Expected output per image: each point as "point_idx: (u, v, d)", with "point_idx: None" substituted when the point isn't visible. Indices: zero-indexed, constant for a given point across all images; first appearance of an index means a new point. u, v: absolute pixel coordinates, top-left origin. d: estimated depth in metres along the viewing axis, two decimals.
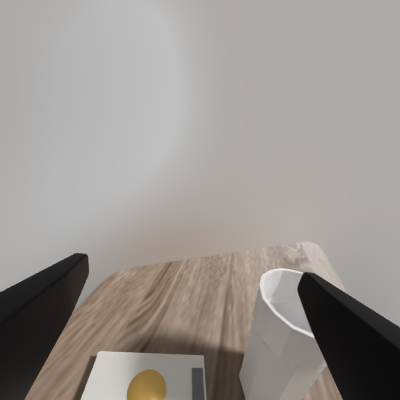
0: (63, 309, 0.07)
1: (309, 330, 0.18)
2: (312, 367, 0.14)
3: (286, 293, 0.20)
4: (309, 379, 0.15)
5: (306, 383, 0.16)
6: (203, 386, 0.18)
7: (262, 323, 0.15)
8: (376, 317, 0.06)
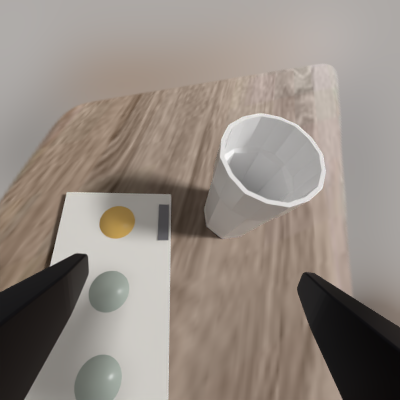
0: (63, 309, 0.07)
1: (275, 180, 0.17)
2: (261, 219, 0.14)
3: (260, 143, 0.16)
4: (259, 222, 0.16)
5: (256, 224, 0.17)
6: (169, 217, 0.21)
7: (218, 181, 0.14)
8: (376, 317, 0.06)
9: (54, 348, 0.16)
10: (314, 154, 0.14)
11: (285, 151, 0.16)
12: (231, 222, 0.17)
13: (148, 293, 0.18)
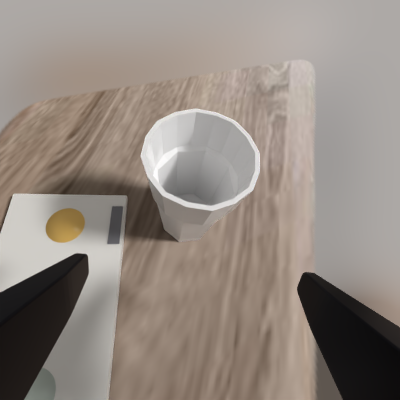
0: (63, 309, 0.07)
1: (225, 180, 0.16)
2: (196, 223, 0.13)
3: (205, 141, 0.15)
4: (204, 225, 0.15)
5: (202, 227, 0.16)
6: (122, 220, 0.20)
7: (148, 182, 0.13)
8: (376, 317, 0.06)
9: None
10: (251, 152, 0.13)
11: (229, 149, 0.15)
12: (176, 225, 0.16)
13: (92, 301, 0.17)
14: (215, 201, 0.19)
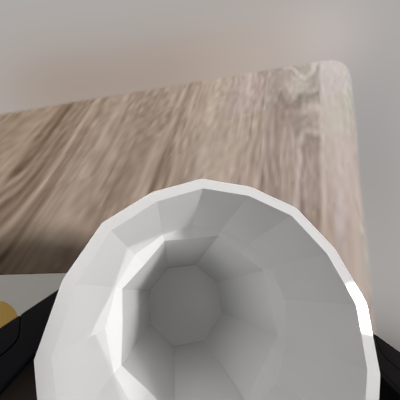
0: None
1: (254, 285, 0.09)
2: None
3: (218, 224, 0.08)
4: None
5: None
6: None
7: None
8: None
9: None
10: (341, 296, 0.05)
11: (269, 248, 0.07)
12: None
13: None
14: (232, 296, 0.11)
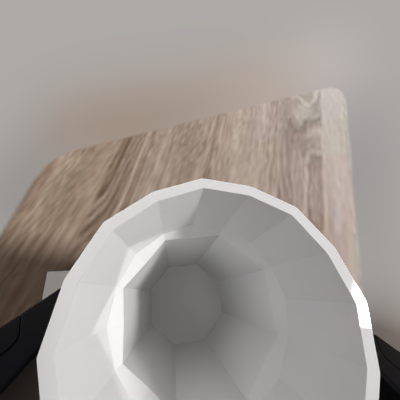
0: None
1: (254, 285, 0.09)
2: None
3: (219, 223, 0.08)
4: None
5: None
6: None
7: None
8: None
9: None
10: (341, 295, 0.05)
11: (270, 247, 0.07)
12: None
13: None
14: (232, 295, 0.11)
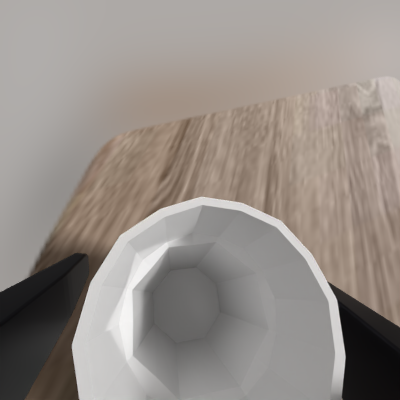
0: (63, 309, 0.07)
1: (248, 286, 0.10)
2: None
3: (216, 232, 0.09)
4: None
5: None
6: None
7: None
8: (376, 317, 0.06)
9: None
10: (317, 294, 0.06)
11: (260, 253, 0.08)
12: None
13: None
14: (229, 296, 0.12)
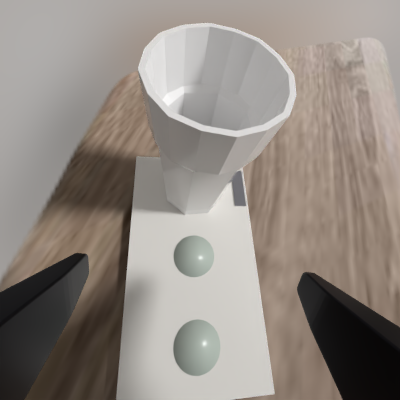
0: (63, 309, 0.07)
1: None
2: (211, 171, 0.10)
3: (218, 78, 0.12)
4: (217, 183, 0.12)
5: (215, 187, 0.13)
6: (242, 183, 0.20)
7: (148, 116, 0.10)
8: (376, 317, 0.06)
9: (147, 312, 0.15)
10: (282, 76, 0.10)
11: (249, 86, 0.12)
12: (183, 185, 0.13)
13: (233, 258, 0.17)
14: None
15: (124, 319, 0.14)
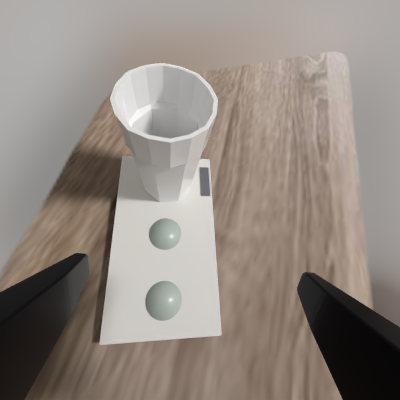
0: (63, 309, 0.07)
1: None
2: (164, 165, 0.15)
3: (175, 98, 0.17)
4: (175, 175, 0.17)
5: (175, 178, 0.17)
6: (209, 178, 0.24)
7: None
8: (376, 317, 0.06)
9: (126, 274, 0.19)
10: (211, 100, 0.14)
11: (196, 104, 0.16)
12: (151, 176, 0.17)
13: (197, 236, 0.21)
14: None
15: (108, 279, 0.19)
